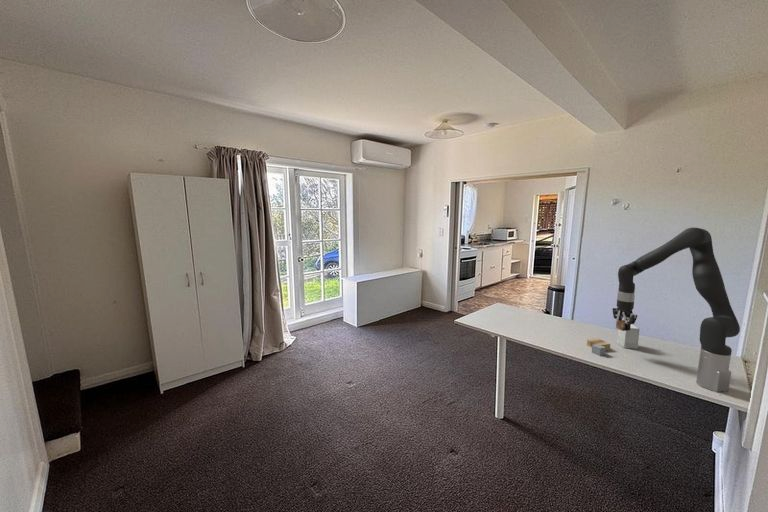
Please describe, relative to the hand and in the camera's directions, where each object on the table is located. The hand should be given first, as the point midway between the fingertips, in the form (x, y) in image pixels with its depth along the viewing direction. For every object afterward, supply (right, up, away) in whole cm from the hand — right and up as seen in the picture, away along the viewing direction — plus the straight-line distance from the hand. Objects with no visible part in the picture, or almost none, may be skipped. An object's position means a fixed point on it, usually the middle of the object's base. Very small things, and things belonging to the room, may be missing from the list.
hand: (622, 328), depth 168 cm
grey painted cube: (-13, -15, +2) cm, 20 cm away
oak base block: (-7, -14, +10) cm, 19 cm away
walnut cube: (0, 0, 0) cm, 1 cm away
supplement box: (+12, -14, +11) cm, 21 cm away
